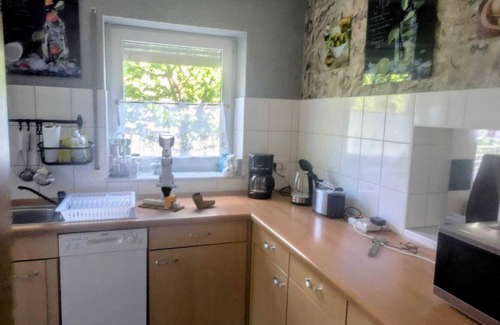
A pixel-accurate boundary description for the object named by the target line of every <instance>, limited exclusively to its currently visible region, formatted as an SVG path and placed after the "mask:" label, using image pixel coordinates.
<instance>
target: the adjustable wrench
mask: <svg viewBox="0 0 500 325" xmlns="http://www.w3.org/2000/svg"><path fill="white" fill-rule="evenodd" d="M371 241H372V243H373V242H374V243H373V245H372V246H371V247H370V249H369V251H368V252H367V257H369V258H374V257H376V255H377V252H378V250H379V249H378V248H380V247H381V245H380V244H381V243H385V242H387V243H388V239H387V238H385V237H382V239H378V237H377V236H374V237H372V238H371V239H370V242H371ZM379 246H380V247H379Z"/></svg>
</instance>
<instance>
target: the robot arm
mask: <svg viewBox="0 0 500 325" xmlns="http://www.w3.org/2000/svg"><path fill="white" fill-rule="evenodd" d="M158 144H159V147H160V148H162V151H161V158H160V163H161V165H160V166H161V173H160V174H159V176H158V182H157V183H155V187H156V188H157V187H159V188H160V199H159V200H163V201H165V197H168V196H171V195H176V193H175V192H176V190H177V189H179V185H178V184H175V176H174V175H175V174H173V173H172V172H173V170H172V169H173V156H172V150H171V148H172V147H174V145H175V134H174V133H159V134H158ZM175 189H176V190H175Z"/></svg>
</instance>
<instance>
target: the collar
mask: <svg viewBox="0 0 500 325" xmlns="http://www.w3.org/2000/svg"><path fill="white" fill-rule="evenodd" d="M171 202H177V195H176V194H175V195H171V196H168V197H165V208H171Z"/></svg>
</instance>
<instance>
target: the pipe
mask: <svg viewBox="0 0 500 325" xmlns="http://www.w3.org/2000/svg"><path fill="white" fill-rule="evenodd" d="M190 197H191V199H192V201H193V203H194V205H195V207H196V209H197V210H200V209H202V208H207V207H212V206H215V204H216V200H214V199H206V200H205V199H204V198H203V194H202V192H195V193H193V194H191V196H190ZM203 199H204V200H203Z"/></svg>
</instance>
